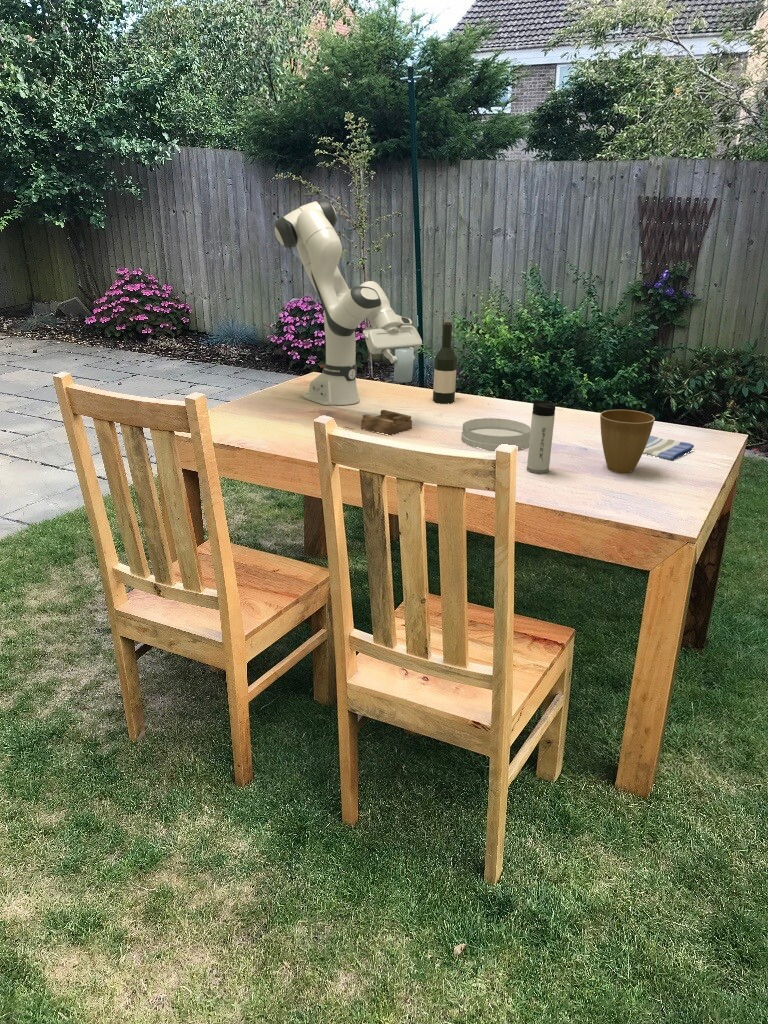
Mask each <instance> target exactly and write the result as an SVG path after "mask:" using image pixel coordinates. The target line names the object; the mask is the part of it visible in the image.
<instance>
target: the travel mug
mask: <svg viewBox="0 0 768 1024" xmlns="http://www.w3.org/2000/svg"><path fill="white" fill-rule="evenodd" d="M531 403H532V404H533V405H532V413H531V422H530V428H531V430H530V441H529V446H528V452H527V462H526V463H527V465H526V470H527V471H528V472H529V473H533V474H539V475H540V474H546V473H548V472H549V471H550V465H551V464H550V463H551V456H552V455H551V454H552V444H553V434H554V427H555V425H554V424H555V417H556V404H554V403H552V402H550V401H547V400H538V399H534V400H532V402H531Z"/></svg>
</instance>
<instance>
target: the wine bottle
mask: <svg viewBox="0 0 768 1024" xmlns="http://www.w3.org/2000/svg"><path fill="white" fill-rule="evenodd" d="M452 333H453V324H452V322H451V321H444V322H443V324H442V336H441V337H442V340H441V341H442V343H441V348H440V349H439V351H438V352H437V354H436V355H435V357H434V365H433V366H434V371H433V386H432V387H433V390H432V402H433V401H434V402H433V403H435V404H439V403H440V405H449V404H448V403H452V404H453V402H454V403H455V400H456V399H455V398H456V384H457V383H456V382H457V381H456V379H457V365H458V364H457V363H458V358H457V356H456V354H455V352H454V350H453V348H452V337H453V336H452Z"/></svg>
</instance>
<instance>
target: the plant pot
mask: <svg viewBox="0 0 768 1024" xmlns="http://www.w3.org/2000/svg"><path fill="white" fill-rule="evenodd" d="M599 416H600V417H599V418H600V423H599V425H600V436H601V445H602V449H603V451H602V452H603V455H604V456H603V457H604V459H605V464H606V467H607V469H608V470H609V471H611V472H614V473H619V474H628V473H629V474H630V473H633V472H634V471H635V469H636V467H637V465H638V464H639V461H640V460H641V458H642V456H643V455H644V454H643V452H644V449H645V447H646V444H647V442H648V439H649V436H651V433H652V429H653V427H654V424H655V420H656V418H655V416H653V415H652V414H650V413H646V412H643V411H639V410H630V409H610V410H604V411H602V412H600V414H599Z"/></svg>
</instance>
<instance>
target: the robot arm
mask: <svg viewBox="0 0 768 1024" xmlns="http://www.w3.org/2000/svg"><path fill="white" fill-rule="evenodd" d="M337 218H338V217H337V212H336V209H335V207H334V205H333V204H332V203H331V202H330V201H329V200H328V199H326V198H319V199H315V201H312V202H308V203H306V204H303V205H301V206H299V207H298V208H296V209H295V210H292V211H291V212H289V213H288V214H286V215H284V216H281V217H279V218H278V219H277V220H276V221H275V222H274V227H273V228H274V234H275V237H276V239H277V241H278V242H279V243H280V244H281V245H282V246H283V248H287V249H292V248H294V249H295V248H297V253H298V255H299V258H300V260H301V264H302V266H303V267H304V270H305V273H306V274H307V276H308V278H309V280H310V283H311V285H312V288H313V289H314V290H315V292H316V293H317V295H318V297H319V299H320V302H321V305H322V308H323V325H324V326H323V327H324V335H325V363H324V364H323V363H322V364H320V369H322V373H320V374H319V375H317V376H316V377H315V378H314V379H312V380H311V381H310V383H309V387H308V388H309V389H308V392H306V393H304V394H302V398H303V399H305V400H309V401H312V402H314V403H317V404H321V405H323V406H330V405H331V406H332V405H333V406H336V405H337V406H343V405H344V406H345V405H347V406H348V405H353V404H357V403H359V402H360V398H359V393H358V384H357V378H356V376H357V371H358V370H357V369H358V367H357V366H358V365H357V363H356V357H357V356H356V349H357V348H356V345H357V343H356V330H357V329H358V327H359V326H360V325H361V324H362V323H363V321H364V320H365V319H368V320H369V325H370V327H369V326H367V327H365V328H364V329H363V330H362V335H363V337H364V339H365V340H364V341H365V344H366V346H367V349H368V351H369V353H371V354H372V355H378V354H379V355H382V354H383V356H384V357H385V358H386V359H387V360H389V362H390V364H395V363H396V362H397V359H396V356H395V355H393V354H392V353H395V349H396V348H410V349H413V350H414V351H418V350H419V348H421V346H422V344H423V340H422V337H421V336H420V334H419V331H418V330H417V329H416V328H415V326H413V325H412V324H413V321H412V319H411V318H409V317H405V316H401V315H399V314H397V313H396V312H395V311H394V310H393V308H392V307H391V304H390V303H391V302H390V300H389V298H388V297H387V295H386V293H385V291H384V290H383V288H382V287H381V286H380V285H379V284H378V283H377V282H376V281H372V280H368V281H364V282H362V283H361V284H359V285H356V286H353V287H351V288H349V286H348V284H347V283H346V280H345V279H344V277H343V274H342V273H341V271H340V268H339V267H338V265H339V263H340V260H341V258H342V253H343V245H342V242H341V239H340V237H339V235H338V233H337V231H336V230H335V227H336V224H337V221H338V219H337ZM415 360H416V357H415V355H414V356H413V362H414V361H415Z"/></svg>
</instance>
